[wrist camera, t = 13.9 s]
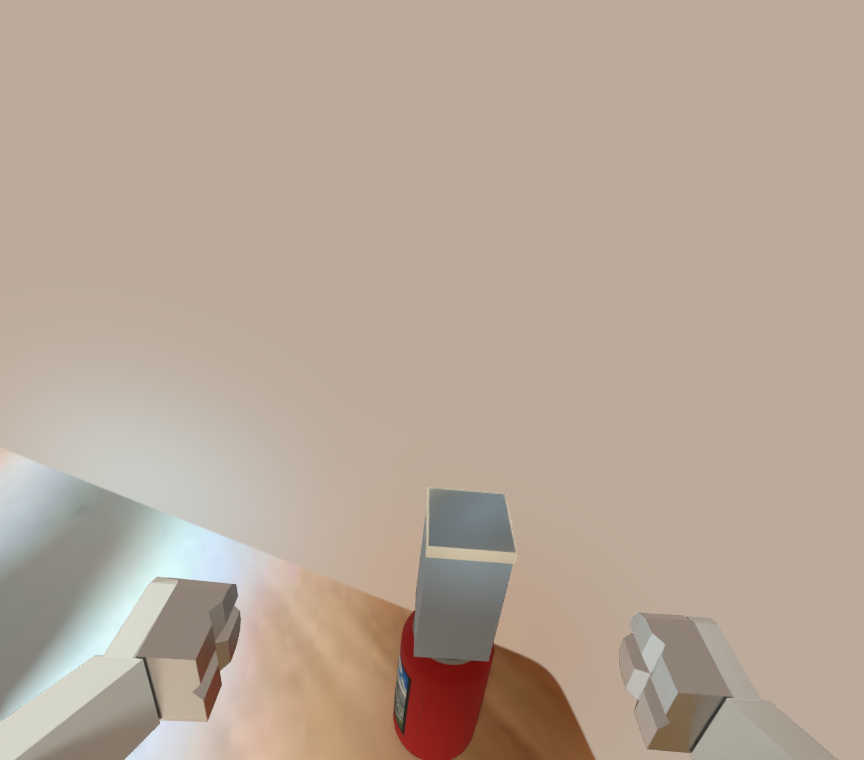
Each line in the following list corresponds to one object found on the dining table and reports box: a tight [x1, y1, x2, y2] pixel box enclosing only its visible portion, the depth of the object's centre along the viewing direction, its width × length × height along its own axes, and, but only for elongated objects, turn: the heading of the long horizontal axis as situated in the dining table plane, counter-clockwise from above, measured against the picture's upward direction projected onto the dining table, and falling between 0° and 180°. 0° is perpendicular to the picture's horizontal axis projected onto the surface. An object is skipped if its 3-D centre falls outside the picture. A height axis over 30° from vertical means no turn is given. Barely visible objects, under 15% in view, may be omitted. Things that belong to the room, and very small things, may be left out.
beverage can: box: [393, 611, 494, 760], centre depth 37 cm, size 7×7×12 cm
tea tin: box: [414, 487, 518, 662], centre depth 32 cm, size 5×5×10 cm
